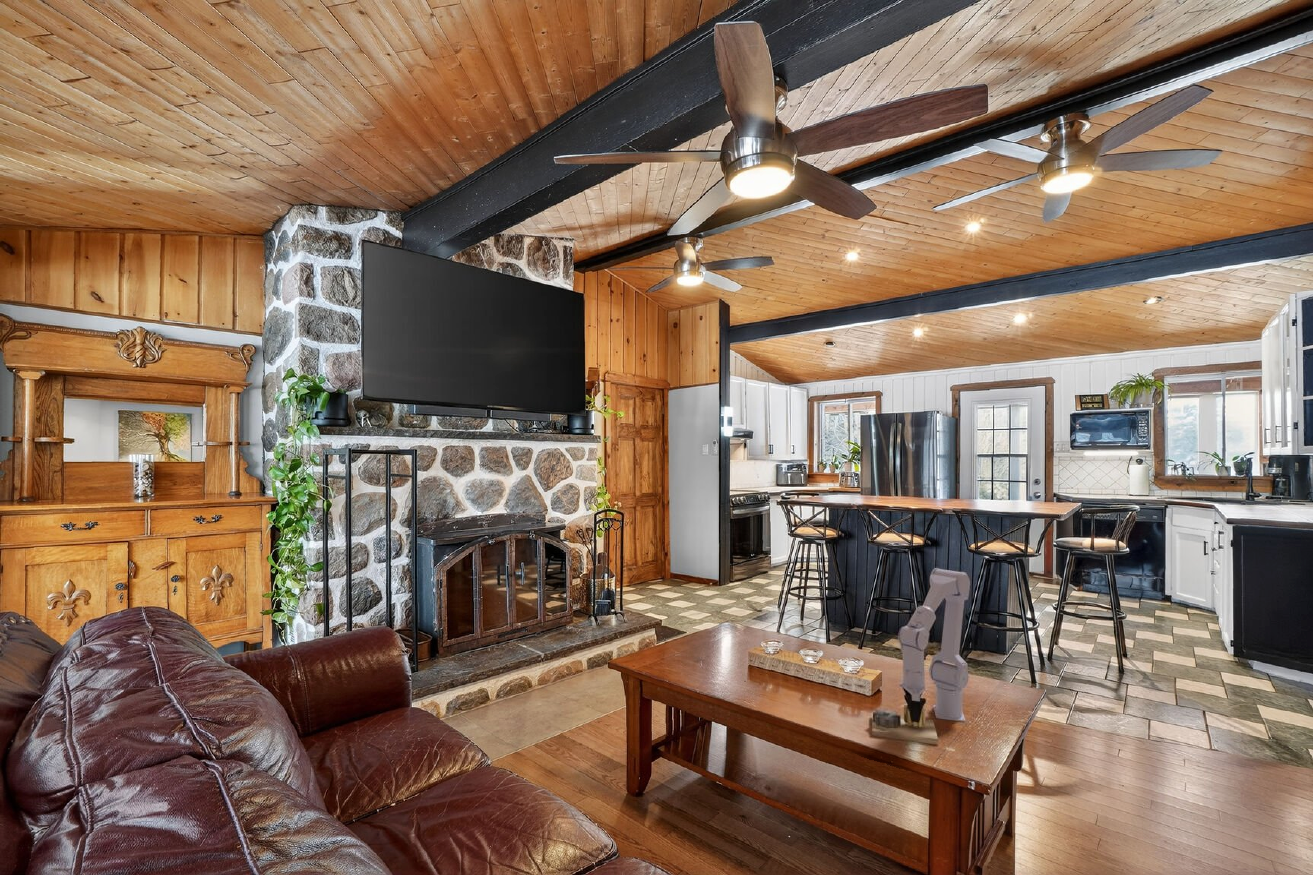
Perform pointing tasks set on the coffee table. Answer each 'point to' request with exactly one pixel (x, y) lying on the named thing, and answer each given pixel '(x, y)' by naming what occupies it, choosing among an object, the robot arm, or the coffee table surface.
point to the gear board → (902, 728)
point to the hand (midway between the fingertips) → (914, 717)
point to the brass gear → (908, 719)
